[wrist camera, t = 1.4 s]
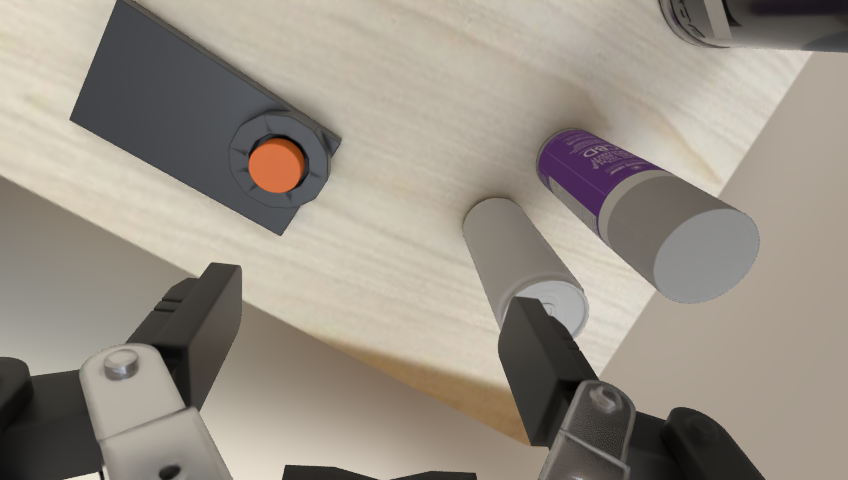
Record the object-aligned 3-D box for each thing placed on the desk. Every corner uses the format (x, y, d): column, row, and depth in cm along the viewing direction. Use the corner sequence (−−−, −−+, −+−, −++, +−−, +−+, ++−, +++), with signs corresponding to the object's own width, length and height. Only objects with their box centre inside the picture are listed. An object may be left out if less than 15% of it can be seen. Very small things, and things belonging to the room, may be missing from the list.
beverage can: (518, 187, 32) (588, 267, 21) (527, 243, 34) (595, 342, 23) (455, 204, 32) (492, 292, 21) (468, 259, 34) (507, 365, 23)
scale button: (313, 156, 27) (310, 163, 26) (290, 193, 28) (285, 202, 26) (269, 128, 26) (263, 133, 25) (246, 168, 27) (239, 175, 26)
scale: (349, 140, 29) (345, 151, 27) (290, 231, 32) (281, 250, 29) (131, -4, 25) (101, -8, 22) (82, 115, 27) (49, 125, 25)
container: (578, 113, 30) (738, 181, 16) (610, 163, 32) (779, 262, 18) (523, 157, 31) (631, 255, 17) (557, 203, 33) (679, 324, 19)
